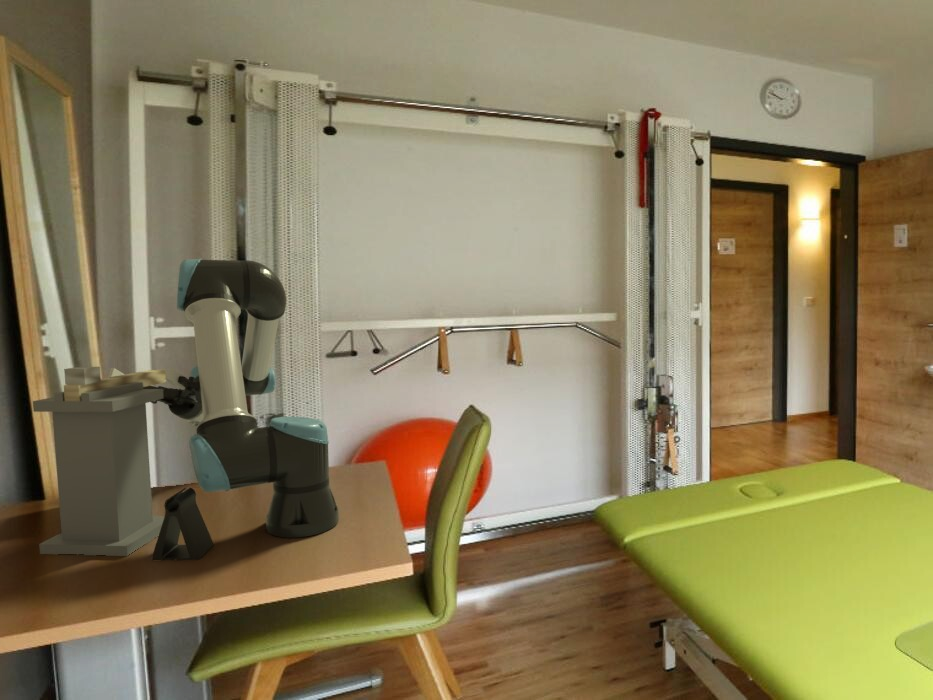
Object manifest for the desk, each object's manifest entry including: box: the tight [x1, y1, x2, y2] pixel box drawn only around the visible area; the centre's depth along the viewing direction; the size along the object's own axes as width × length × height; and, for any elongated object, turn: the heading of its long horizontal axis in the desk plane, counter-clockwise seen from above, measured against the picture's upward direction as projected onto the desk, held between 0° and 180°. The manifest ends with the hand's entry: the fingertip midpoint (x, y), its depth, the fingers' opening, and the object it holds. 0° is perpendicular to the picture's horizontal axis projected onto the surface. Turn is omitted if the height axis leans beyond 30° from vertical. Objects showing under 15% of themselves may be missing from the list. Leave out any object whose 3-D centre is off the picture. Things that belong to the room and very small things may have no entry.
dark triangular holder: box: [151, 487, 214, 561], centre depth 106 cm, size 9×6×12 cm, turn 90°
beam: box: [63, 366, 167, 401], centre depth 116 cm, size 26×4×6 cm, turn 175°
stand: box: [32, 382, 165, 557], centre depth 112 cm, size 15×18×32 cm
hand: (139, 373), depth 122 cm, fingers open, 13 cm apart
